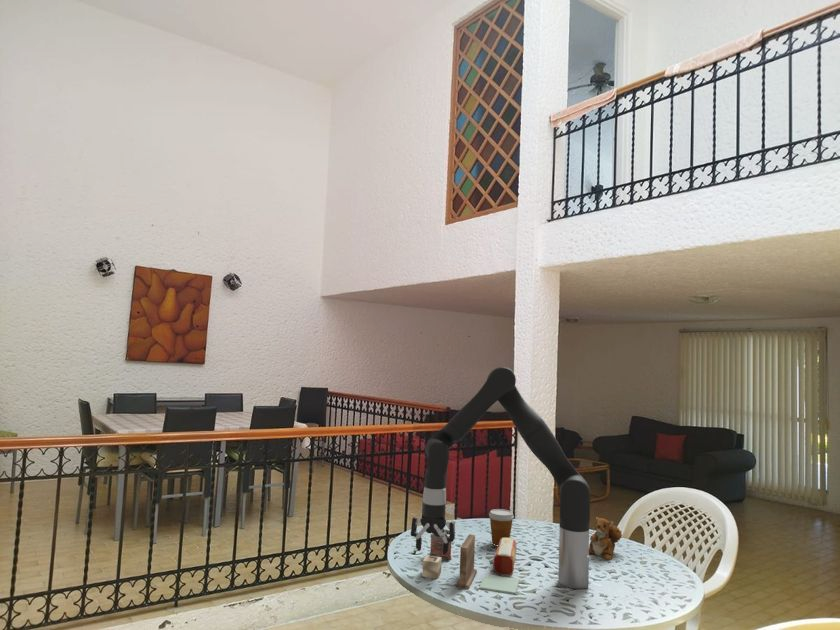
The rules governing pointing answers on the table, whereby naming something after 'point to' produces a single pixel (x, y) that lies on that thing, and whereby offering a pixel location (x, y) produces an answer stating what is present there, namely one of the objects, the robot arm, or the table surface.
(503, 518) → the disposable coffee cup
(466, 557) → the walnut screen
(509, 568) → the snack package
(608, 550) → the stuffed squirrel
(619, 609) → the table surface
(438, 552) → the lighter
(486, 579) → the sage pad
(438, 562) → the letter cube
